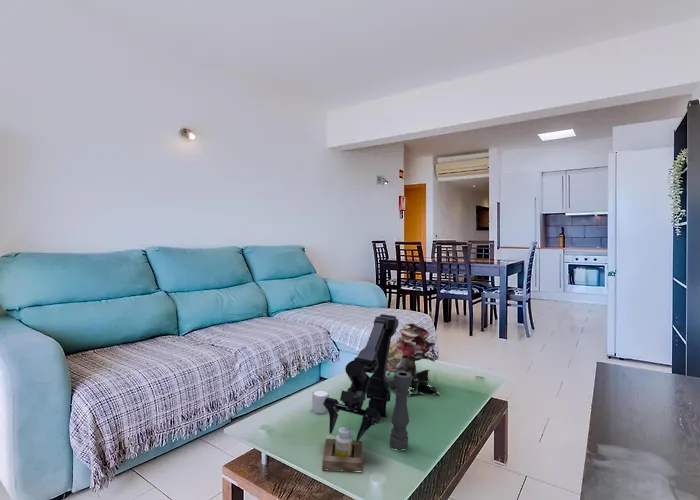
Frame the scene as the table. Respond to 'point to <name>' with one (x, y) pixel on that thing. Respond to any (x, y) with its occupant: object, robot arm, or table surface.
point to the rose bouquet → (410, 356)
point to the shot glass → (319, 400)
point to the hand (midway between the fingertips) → (343, 437)
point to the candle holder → (400, 411)
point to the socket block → (342, 462)
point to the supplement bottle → (343, 443)
